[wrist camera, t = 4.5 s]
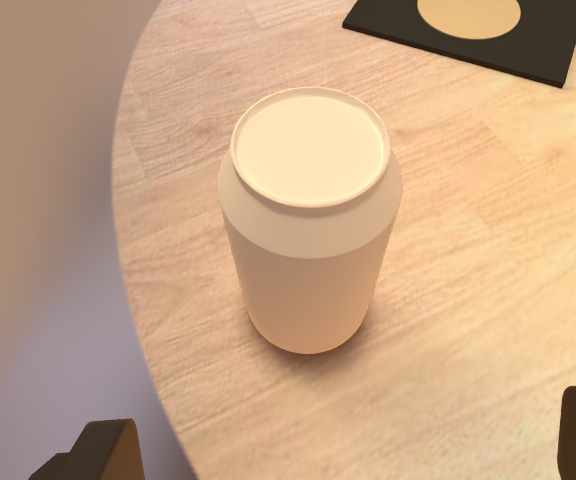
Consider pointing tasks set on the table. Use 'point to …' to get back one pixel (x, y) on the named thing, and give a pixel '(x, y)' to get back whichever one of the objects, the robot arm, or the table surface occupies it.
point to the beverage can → (309, 213)
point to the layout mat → (480, 31)
